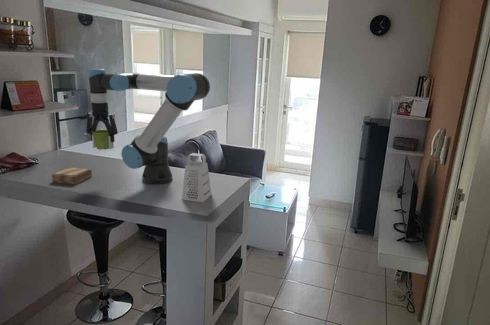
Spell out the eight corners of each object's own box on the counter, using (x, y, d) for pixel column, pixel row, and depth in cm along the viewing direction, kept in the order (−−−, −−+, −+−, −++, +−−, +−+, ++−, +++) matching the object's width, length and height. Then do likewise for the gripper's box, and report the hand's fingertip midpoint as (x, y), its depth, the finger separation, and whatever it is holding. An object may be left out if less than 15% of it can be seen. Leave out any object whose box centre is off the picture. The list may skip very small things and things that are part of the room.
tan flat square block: (91, 176, 195) (91, 168, 194) (75, 184, 183) (75, 176, 182) (70, 174, 198) (69, 166, 196) (52, 182, 185) (51, 173, 184)
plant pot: (103, 145, 191) (102, 128, 189) (117, 147, 187) (116, 130, 185) (89, 149, 183) (87, 131, 181) (103, 151, 179) (101, 133, 177)
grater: (203, 202, 165) (203, 158, 159) (181, 199, 167) (180, 156, 162) (211, 194, 174) (211, 152, 169) (191, 191, 177) (190, 150, 172)
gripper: (123, 102, 180) (126, 147, 186) (84, 100, 184) (89, 144, 191) (115, 103, 173) (118, 151, 179) (75, 101, 177) (79, 148, 184)
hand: (103, 147), depth 185 cm, fingers closed on plant pot, 8 cm apart
